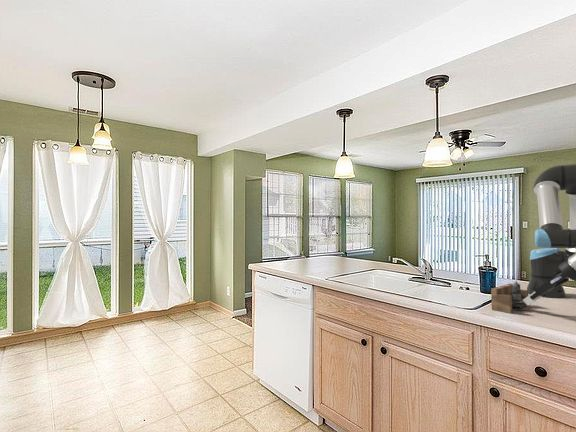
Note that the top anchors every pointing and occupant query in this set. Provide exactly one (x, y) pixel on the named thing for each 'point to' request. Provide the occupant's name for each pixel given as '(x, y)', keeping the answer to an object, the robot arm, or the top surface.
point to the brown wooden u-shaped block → (505, 298)
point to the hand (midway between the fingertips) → (525, 302)
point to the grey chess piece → (517, 297)
